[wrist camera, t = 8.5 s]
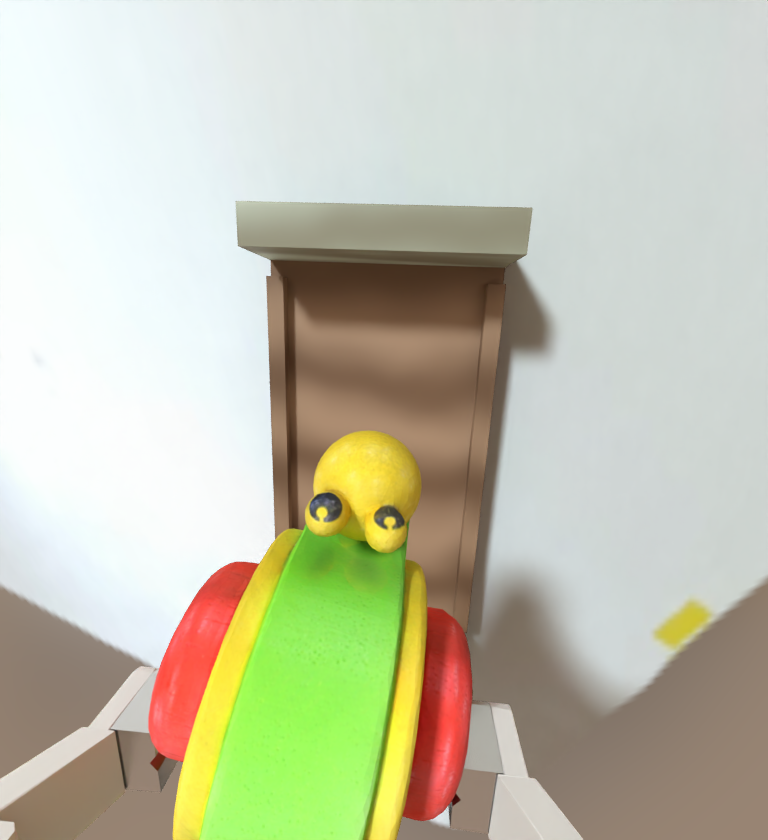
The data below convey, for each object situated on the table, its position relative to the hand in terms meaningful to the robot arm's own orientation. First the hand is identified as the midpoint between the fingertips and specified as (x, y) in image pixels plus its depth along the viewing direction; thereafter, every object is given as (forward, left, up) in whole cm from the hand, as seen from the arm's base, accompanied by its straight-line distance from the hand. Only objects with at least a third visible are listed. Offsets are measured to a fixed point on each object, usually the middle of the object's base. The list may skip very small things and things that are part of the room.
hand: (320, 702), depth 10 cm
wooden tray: (0, 0, -18) cm, 18 cm away
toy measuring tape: (+2, -1, -3) cm, 4 cm away
